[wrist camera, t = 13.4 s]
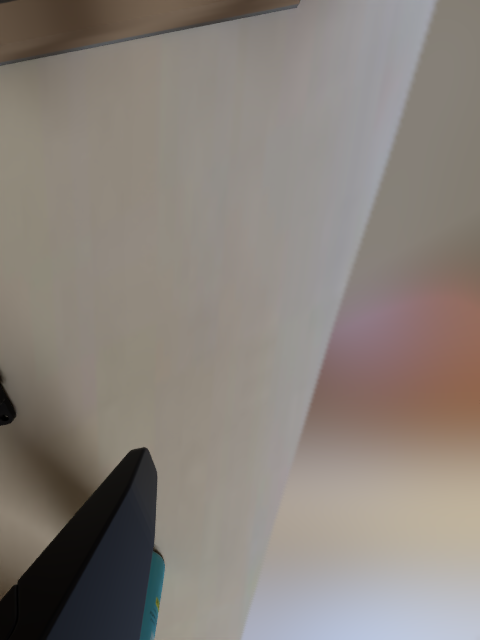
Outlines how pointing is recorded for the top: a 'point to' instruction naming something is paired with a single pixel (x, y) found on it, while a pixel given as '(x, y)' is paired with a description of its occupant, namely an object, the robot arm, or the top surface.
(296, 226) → the top surface
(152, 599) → the tube
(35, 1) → the brown wooden flat tray
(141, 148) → the top surface
